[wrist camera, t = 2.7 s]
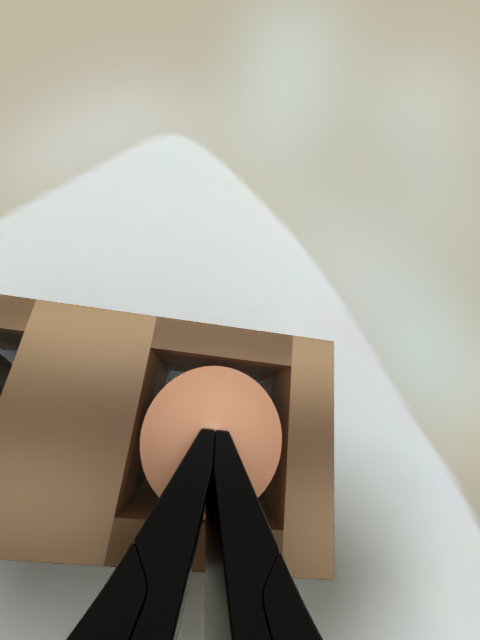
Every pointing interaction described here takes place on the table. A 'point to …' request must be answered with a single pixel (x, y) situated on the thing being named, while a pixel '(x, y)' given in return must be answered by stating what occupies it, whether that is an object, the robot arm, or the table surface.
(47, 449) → the wooden compartment box
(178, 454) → the peach orange egg
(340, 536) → the table surface
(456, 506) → the table surface
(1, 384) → the pale green egg
